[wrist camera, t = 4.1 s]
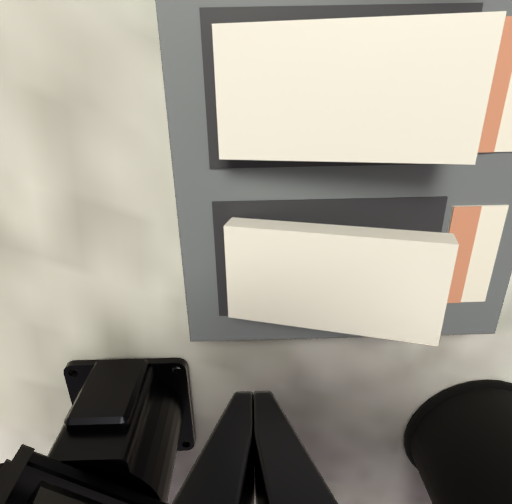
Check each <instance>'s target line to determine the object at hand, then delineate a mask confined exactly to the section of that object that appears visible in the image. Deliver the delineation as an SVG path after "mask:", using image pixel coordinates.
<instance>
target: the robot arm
mask: <svg viewBox="0 0 512 504" xmlns="http://www.w3.org/2000/svg"><path fill="white" fill-rule="evenodd" d="M174 367H179V368H181V369H176V368H174ZM72 369H74V370H76V371H77V372H75V371H73V370H72ZM64 376H65V380H66V384H67V387H68V391H69V395H70V398H71V402H72V407H71V409H70V411H69V413H68V415H67V417H66V418H65V421H64V423H65V424H64V425H63V427H62V429H61V431H60V433H59V435H58V437H57V439H56V441H55V443H54V444H53V446H52V448H51V450H50V452H49V454H48V456H45V455H42V454H40V453H37V452H34V450H35V449H34V448H31V447H29V446H26V445H24V444H22V445H21V447H20V449H19V450H18V452H17V453H16V455H15V457H14V458H13V460H12V461H11V460H8V459H6V461H5V462H4V463H1V464H0V504H168V503H167V500H168V494H169V489H170V484H171V479H172V473H173V468H174V463H175V457H176V452H177V451H183V450H190V449H192V448H193V447H194V443H195V432H194V423H193V414H192V405H191V396H190V387H189V378H188V368H187V363H186V362H185V361H184V360H183V359H181V358H158V359H119V360H81V361H71V362H69V363H68V364H67V366H66V367H65V369H64ZM185 441H187V442H185ZM254 467H255V471H254ZM254 496H256V504H338V503H337V501H336V499H335V498H334V496H333V494H332V493H331V491H330V489H329V488H328V486H327V484H326V483H325V481H324V479H323V478H322V476H321V474H320V473H319V471H318V469H317V467H316V466H315V464H314V462H313V461H312V459H311V457H310V456H309V454H308V452H307V451H306V449H305V447H304V446H303V444H302V442H301V441H300V439H299V437H298V436H297V434H296V432H295V430H294V429H293V427H292V425H291V424H290V422H289V420H288V419H287V417H286V415H285V414H284V412H283V410H282V409H281V407H280V405H279V404H278V402H277V400H276V399H275V397H274V395H273V394H272V392H270V391H255V392H254V393H252V392H250V391H247V392H236V393H234V395H233V396H232V398H231V400H230V402H229V403H228V405H227V407H226V409H225V411H224V412H223V414H222V416H221V418H220V419H219V421H218V423H217V425H216V427H215V428H214V430H213V432H212V434H211V435H210V437H209V439H208V441H207V443H206V444H205V446H204V448H203V450H202V451H201V453H200V455H199V457H198V459H197V460H196V462H195V464H194V466H193V467H192V469H191V471H190V473H189V475H188V476H187V478H186V480H185V482H184V483H183V485H182V487H181V489H180V491H179V492H178V494H177V496H176V498H175V499H174V501H173V503H172V504H254Z"/></svg>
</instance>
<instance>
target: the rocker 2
mask: <svg viewBox="0 0 512 504" xmlns="http://www.w3.org/2000/svg"><path fill="white" fill-rule="evenodd" d="M224 245H225V263H226V282H227V301H228V317H230V318H237V319H244V320H251V321H259V322H266V323H273V324H280V325H287V326H295V327H302V328H309V329H316V330H323V331H331V332H338V333H345V334H352V335H360V336H367V337H374V338H381V339H388V340H396V341H403V342H410V343H417V344H424V345H432V346H438V344H439V339H440V334H441V330H442V325H443V320H444V315H445V310H446V305H447V300H448V296H449V291H450V286H451V281H452V276H453V271H454V266H455V262H456V257H457V252H458V247H459V244H458V241H457V239H456V237H455V235H454V233H440V232H427V231H413V230H399V229H386V228H372V227H359V226H345V225H331V224H318V223H304V222H291V221H277V220H263V219H250V218H236V217H232V218H231V219H230V220H229V221H228V222H227V223H226V224H225V225H224Z"/></svg>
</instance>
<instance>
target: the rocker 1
mask: <svg viewBox="0 0 512 504" xmlns="http://www.w3.org/2000/svg"><path fill="white" fill-rule="evenodd" d="M506 12H507V11H496V12H473V13H450V14H426V15H403V16H380V17H357V18H333V19H310V20H287V21H264V22H240V23H217V24H212V36H213V54H214V72H215V91H216V109H217V128H218V146H219V159H223V160H272V161H320V162H369V163H417V164H466V165H475V163H476V158H477V153H478V148H479V144H480V139H481V134H482V129H483V124H484V119H485V114H486V109H487V105H488V100H489V95H490V90H491V85H492V80H493V75H494V71H495V66H496V61H497V56H498V51H499V46H500V41H501V36H502V32H503V27H504V22H505V17H506Z"/></svg>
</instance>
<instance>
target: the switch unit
mask: <svg viewBox="0 0 512 504" xmlns="http://www.w3.org/2000/svg"><path fill="white" fill-rule="evenodd" d="M155 2H156V11H157V21H158V31H159V41H160V50H161V60H162V70H163V80H164V89H165V99H166V109H167V119H168V128H169V138H170V148H171V158H172V167H173V177H174V187H175V197H176V206H177V216H178V226H179V236H180V245H181V255H182V265H183V275H184V284H185V294H186V304H187V314H188V323H189V333H190V342H191V341H230V340H269V339H308V338H347V337H367V336H360V335H352V334H345V333H338V332H331V331H323V330H316V329H309V328H302V327H295V326H287V325H280V324H273V323H266V322H259V321H251V320H244V319H237V318H230V317H228V301H227V282H226V263H225V245H224V225H225V224H226V223H227V222H228V221H229V220H230V219H231V218H232V217H236V218H250V219H263V220H277V221H291V222H304V223H318V224H331V225H345V226H359V227H372V228H386V229H399V230H413V231H427V232H440V233H454V235H455V237H456V239H457V241H458V244H459V247H458V252H457V257H456V262H455V266H454V271H453V276H452V281H451V286H450V291H449V296H448V300H447V305H446V310H445V315H444V320H443V325H442V330H441V334H440V335H464V334H495V331H496V327H497V324H498V320H499V316H500V313H501V309H502V305H503V302H504V298H505V294H506V291H507V287H508V283H509V280H510V276H511V272H512V0H155ZM496 11H507V12H506V17H505V22H504V27H503V32H502V36H501V41H500V46H499V51H498V56H497V61H496V66H495V71H494V75H493V80H492V85H491V90H490V95H489V100H488V105H487V109H486V114H485V119H484V124H483V129H482V134H481V139H480V144H479V148H478V153H477V158H476V163H475V165H466V164H417V163H369V162H320V161H272V160H223V159H219V146H218V128H217V109H216V91H215V72H214V54H213V36H212V24H217V23H240V22H264V21H287V20H310V19H333V18H357V17H380V16H403V15H426V14H450V13H473V12H496Z"/></svg>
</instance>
